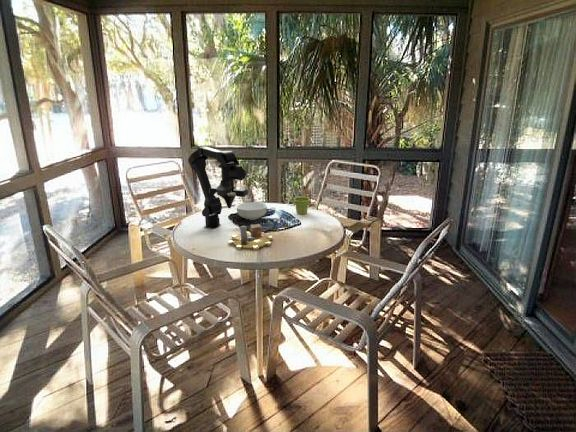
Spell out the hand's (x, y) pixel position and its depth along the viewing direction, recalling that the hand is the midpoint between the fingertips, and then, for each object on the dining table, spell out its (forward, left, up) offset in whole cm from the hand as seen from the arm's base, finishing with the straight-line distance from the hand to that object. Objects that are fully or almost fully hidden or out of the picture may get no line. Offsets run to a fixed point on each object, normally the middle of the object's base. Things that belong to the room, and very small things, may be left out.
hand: (229, 208), depth 194 cm
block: (+15, -2, -11) cm, 19 cm away
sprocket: (+15, -8, -13) cm, 21 cm away
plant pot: (+24, +43, -13) cm, 51 cm away
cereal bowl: (0, +26, -13) cm, 29 cm away
